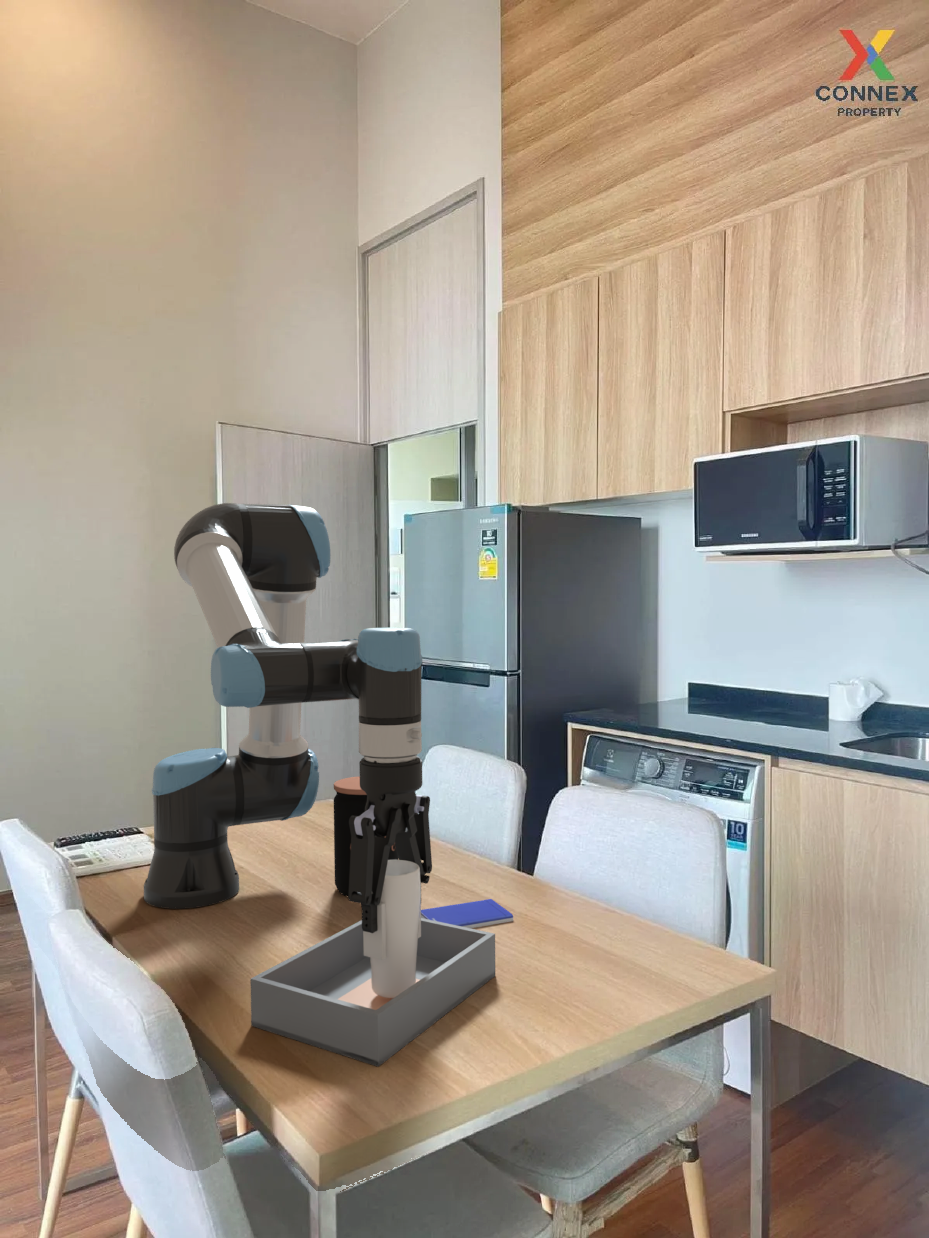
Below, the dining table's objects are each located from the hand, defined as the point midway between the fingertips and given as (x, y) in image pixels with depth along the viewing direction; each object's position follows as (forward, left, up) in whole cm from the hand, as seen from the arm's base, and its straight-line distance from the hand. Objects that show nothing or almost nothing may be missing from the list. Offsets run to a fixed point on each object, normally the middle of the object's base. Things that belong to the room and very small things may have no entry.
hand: (393, 945), depth 109 cm
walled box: (-2, 0, -7) cm, 7 cm away
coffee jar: (-28, +32, -7) cm, 43 cm away
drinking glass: (0, 0, -6) cm, 6 cm away
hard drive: (-7, +28, -8) cm, 30 cm away
